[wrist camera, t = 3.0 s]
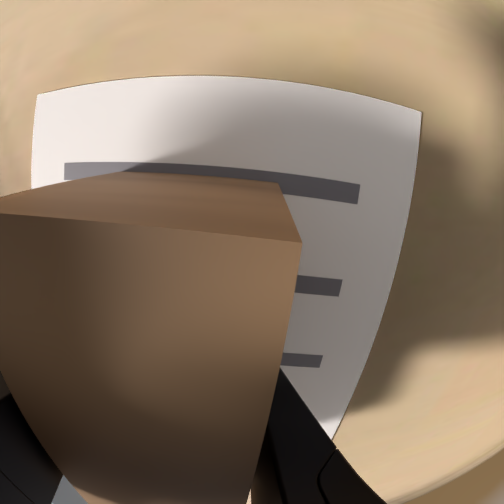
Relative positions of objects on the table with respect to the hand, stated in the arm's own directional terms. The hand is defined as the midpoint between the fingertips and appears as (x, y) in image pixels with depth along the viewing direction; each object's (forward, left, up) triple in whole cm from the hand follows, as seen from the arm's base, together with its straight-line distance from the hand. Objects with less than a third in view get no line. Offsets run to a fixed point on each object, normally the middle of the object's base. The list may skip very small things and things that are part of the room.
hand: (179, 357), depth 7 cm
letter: (0, 0, -1) cm, 1 cm away
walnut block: (0, 0, -1) cm, 1 cm away
